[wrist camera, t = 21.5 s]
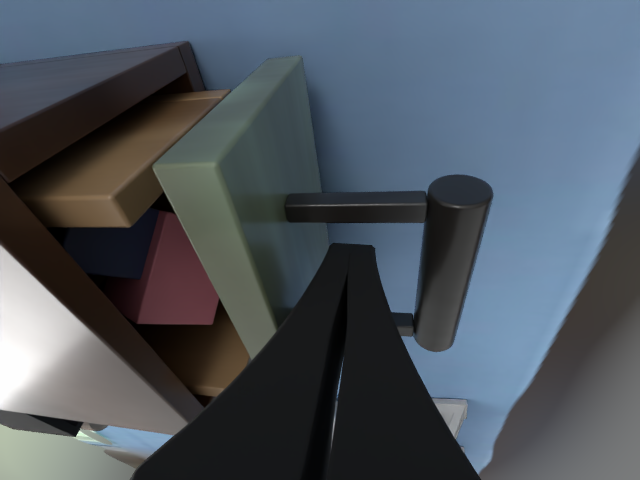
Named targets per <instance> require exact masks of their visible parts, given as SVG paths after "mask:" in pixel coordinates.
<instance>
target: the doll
mask: <svg viewBox="0 0 640 480" xmlns="http://www.w3.org/2000/svg"><path fill="white" fill-rule="evenodd" d="M47 230H48V231H49V232H50V233H51V234H52V235H53V236H54V238H55V239H56V240H57V241H58V242H59V243H60V244H61V246H62V247H63V248H64V249H65V250H66V251H67V252H68V253H69V255H70V256H71V257H72V258H73V259H74V260H75V261H76V263H77V264H78V265H79V266H80V267H81V268H82V269H83V271H84V272H85V273H86V274H91V275H100V276H108V277H107V281H106V284H105V288H104V291H103V293H104V294H105V296H106V297H107V298H108V299H109V300H110V301H111V302H112V303H113V305H114V306H115V307H116V308H117V309H118V310H119V311H120V313H121V314H123V315H124V316H126V317H127V318H129V319H130V320H132V321H133V322H135V323H136V324H202V325H211V324H213V321H214V317H215V313H216V309H217V305H218V301H219V296H218V294H217V293H216V291H215V289H214V287H213V285H212V283H211V281H210V279H209V277H208V275H207V273H206V271H205V269H204V268H203V266H202V264H201V262H200V260H199V258H198V256H197V254H196V252H195V250H194V248H193V246H192V245H191V243H190V241H189V239H188V237H187V235H186V233H185V231H184V229H183V227H182V225H181V223H180V221H179V220H178V218H177V216H176V214H175V213H172V212H168V211H160V210H157V209H153V208H150V207H149V208H148V209H147V211H146V212H145V213H144V214H143V215H142V216H141V217H140V218H139V219H138V220H137V221H136V223H135V224H134V225H133V226H131V227H128V228H90V227H47Z"/></svg>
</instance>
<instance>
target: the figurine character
mask: <svg viewBox="0 0 640 480" xmlns="http://www.w3.org/2000/svg"><path fill="white" fill-rule="evenodd" d="M0 424H2V425H4V426H7V427H9V428H12V429H16V430H24V431H32V432H41V433H48V434H56V435H64V436H72V437H76V435H77V433H78V432H79V430H80V428H81V429H84V430H92V431H101V430H103V429H105V428H106V427H107V426H108V425H101V424H95V423H88V422H81V421H74V420H67V419H60V418H54V417H47V416H40V415H33V414H26V413H19V412H13V411H6V410H0Z"/></svg>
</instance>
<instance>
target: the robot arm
mask: <svg viewBox="0 0 640 480" xmlns="http://www.w3.org/2000/svg"><path fill="white" fill-rule="evenodd" d="M343 357H344V359H343ZM342 363H343V367H342ZM341 368H342V374H341V382H340V389H339V396H338V404H337V411H336V418H335V425H334V432H333V423H334V413H335V403H336V396H337V390H338V384H339V378H340V373H341ZM332 433H333V439H332ZM331 444H332V446H331ZM130 480H481V479H480V477H479V476H478V474H477V473H476V471H475V470H474V468H473V466H472V465H471V463H470V462H469V460H468V459H467V457H466V455H465V454H464V452H463V451H462V449H461V447H460V446H459V444H458V443H457V441H456V439H455V438H454V436H453V434H452V433H451V431H450V429H449V427H448V426H447V424H446V422H445V421H444V419H443V417H442V415H441V414H440V412H439V410H438V409H437V407H436V405H435V403H434V402H433V400H432V398H431V396H430V395H429V393H428V391H427V389H426V387H425V385H424V383H423V381H422V379H421V378H420V376H419V374H418V372H417V370H416V368H415V366H414V364H413V362H412V360H411V358H410V356H409V353H408V351H407V349H406V347H405V345H404V342H403V340H402V338H401V336H400V333H399V331H398V328H397V326H396V324H395V321H394V319H393V316H392V313H391V311H390V308H389V305H388V302H387V299H386V296H385V293H384V290H383V287H382V284H381V280H380V276H379V272H378V268H377V263H376V256H375V248H374V247H373V246H372V245H360V244H342V243H333V244H331V245H330V246H329V248H328V251H327V253H326V255H325V257H324V259H323V261H322V263H321V265H320V267H319V269H318V270H317V272H316V274H315V276H314V277H313V279H312V281H311V282H310V284H309V285H308V287H307V289H306V290H305V292H304V293H303V295H302V297H301V298H300V300H299V301H298V302H297V304H296V305H295V307H294V308H293V309H292V311H291V312H290V314H289V315H288V316H287V318H286V319H285V321H284V322H283V323H282V325H281V326H280V327H279V328H278V330H277V331H276V332H275V334H274V335H273V336H272V337H271V339H270V340H269V341H268V342H267V343H266V344H265V346H264V347H263V348H262V349H261V350H260V352H259V353H258V354H257V355H256V356H255V357H254V358H253V359H252V360H251V362H250V363H249V364H248V365H247V366H246V367H245V368H244V369H243V370H242V371H241V373H240V374H239V375H238V376H237V377H236V378H235V379H234V380H233V381H232V382H231V383H230V384H229V385H228V386H227V387H226V388H225V389H224V390H223V391H222V392H221V393H220V394H219V395H218V396H217V397H216V398H215V399H213V400H212V401H211V402H210V403H209V404H208V405H207V406H206V407H205V408H204V409H203V410H202V411H201V412H200V413H199V414H198V415H197V416H196V417H195V418H194V419H192V420H191V421H190V422H189V423H188V424H187V425H186V426H185V427H184V428H182V429H181V430H180V431H179V432H178V433H177V434H175V435H174V436H173V437H172V438H171V439H170V440H168V441H167V442H166V443H165V444H164V445H162V446H161V447H160V448H159V449H158V450H157V451H155V452H154V453H153V454H152V455H151V456H150V457H148V458H147V459H146V460H145V461H144V462H143V463H141V464H140V465H139V466H138V467H137V468H136V470H135V472H134V473H133V475H132V477H131V478H130Z"/></svg>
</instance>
